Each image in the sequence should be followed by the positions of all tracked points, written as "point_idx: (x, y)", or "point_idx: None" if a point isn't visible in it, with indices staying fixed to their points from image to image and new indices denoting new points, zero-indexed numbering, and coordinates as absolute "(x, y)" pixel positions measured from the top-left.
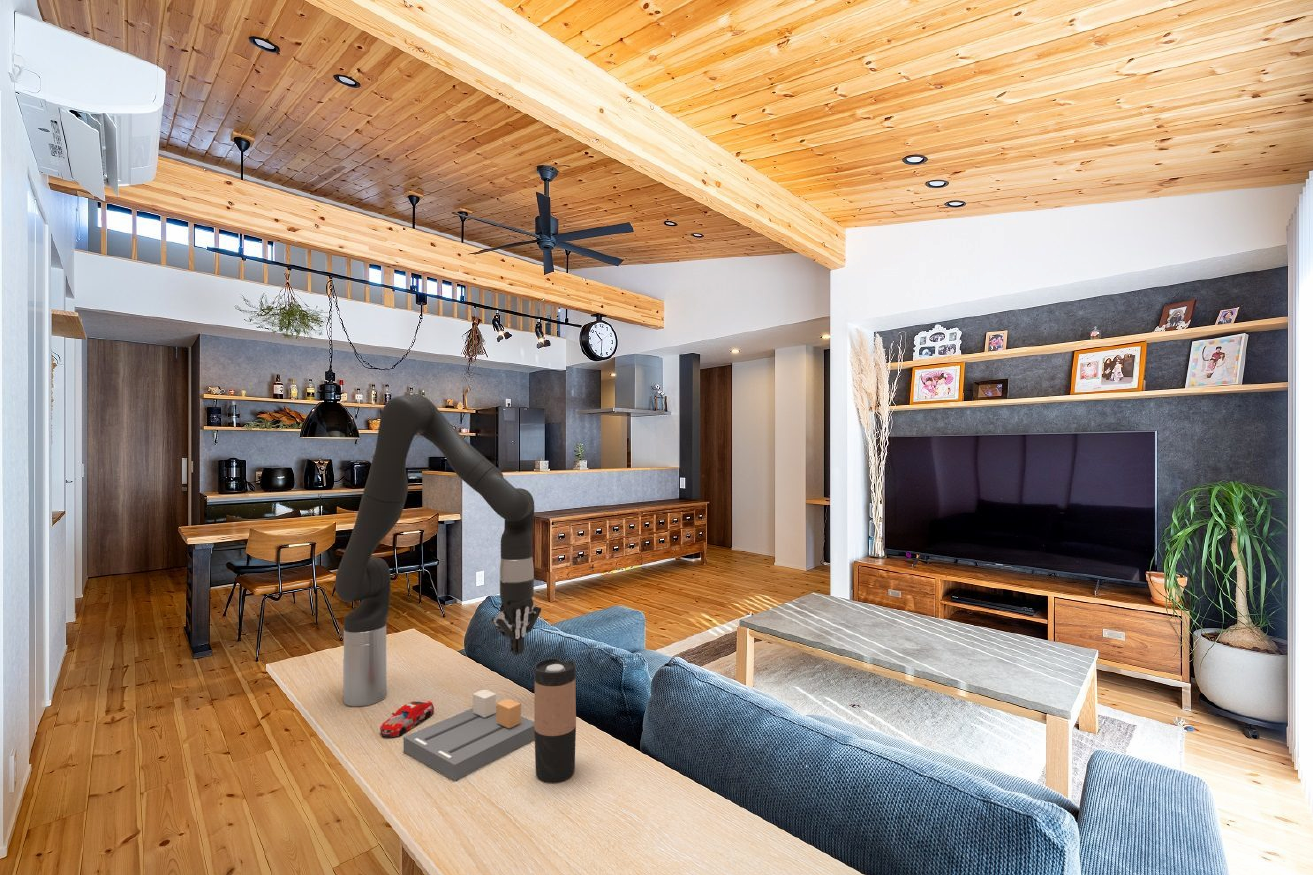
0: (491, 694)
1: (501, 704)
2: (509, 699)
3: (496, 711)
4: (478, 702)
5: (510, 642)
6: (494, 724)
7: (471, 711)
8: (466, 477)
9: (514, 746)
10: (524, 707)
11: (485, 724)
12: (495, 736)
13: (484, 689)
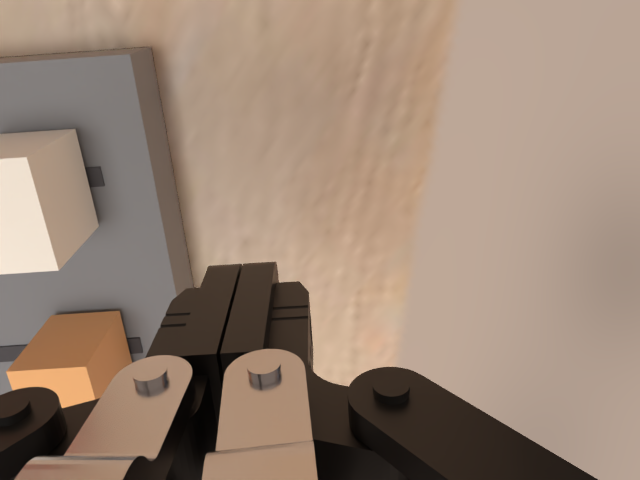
0: (31, 256)
1: None
2: (85, 379)
3: (115, 201)
4: None
5: (150, 347)
6: (45, 305)
7: (4, 99)
8: None
9: None
10: (342, 121)
11: (9, 277)
12: (4, 387)
13: (23, 161)
